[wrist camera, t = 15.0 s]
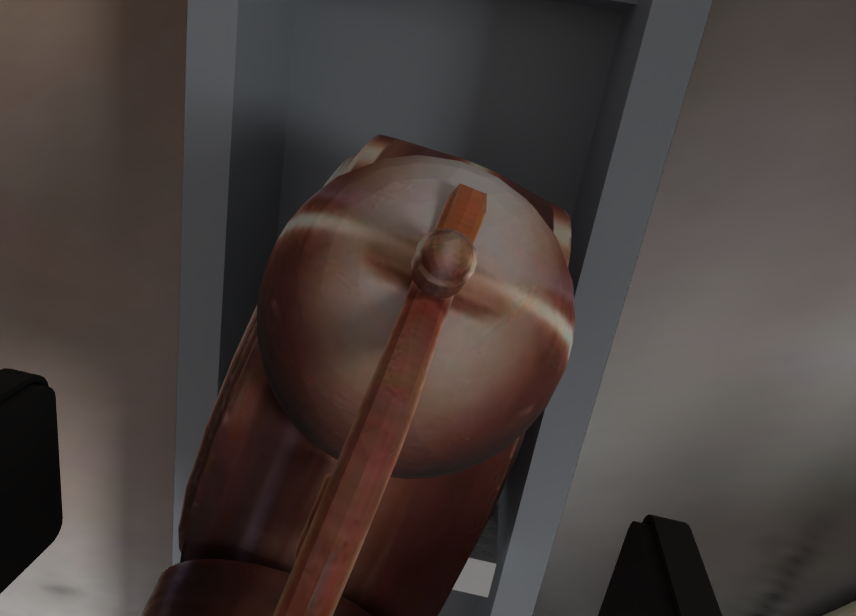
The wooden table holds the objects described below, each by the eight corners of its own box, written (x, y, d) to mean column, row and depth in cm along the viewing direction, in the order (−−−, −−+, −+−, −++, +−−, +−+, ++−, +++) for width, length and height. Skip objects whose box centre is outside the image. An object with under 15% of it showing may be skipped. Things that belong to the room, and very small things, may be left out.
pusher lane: (683, -22, 17) (745, -60, 13) (476, 729, 28) (469, 858, 23) (264, -90, 18) (178, -150, 14) (216, 666, 29) (158, 779, 24)
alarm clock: (396, 140, 19) (212, -18, 4) (542, 202, 19) (830, 250, 5) (275, 450, 21) (-128, 1048, 6) (408, 504, 21) (310, 1203, 7)
